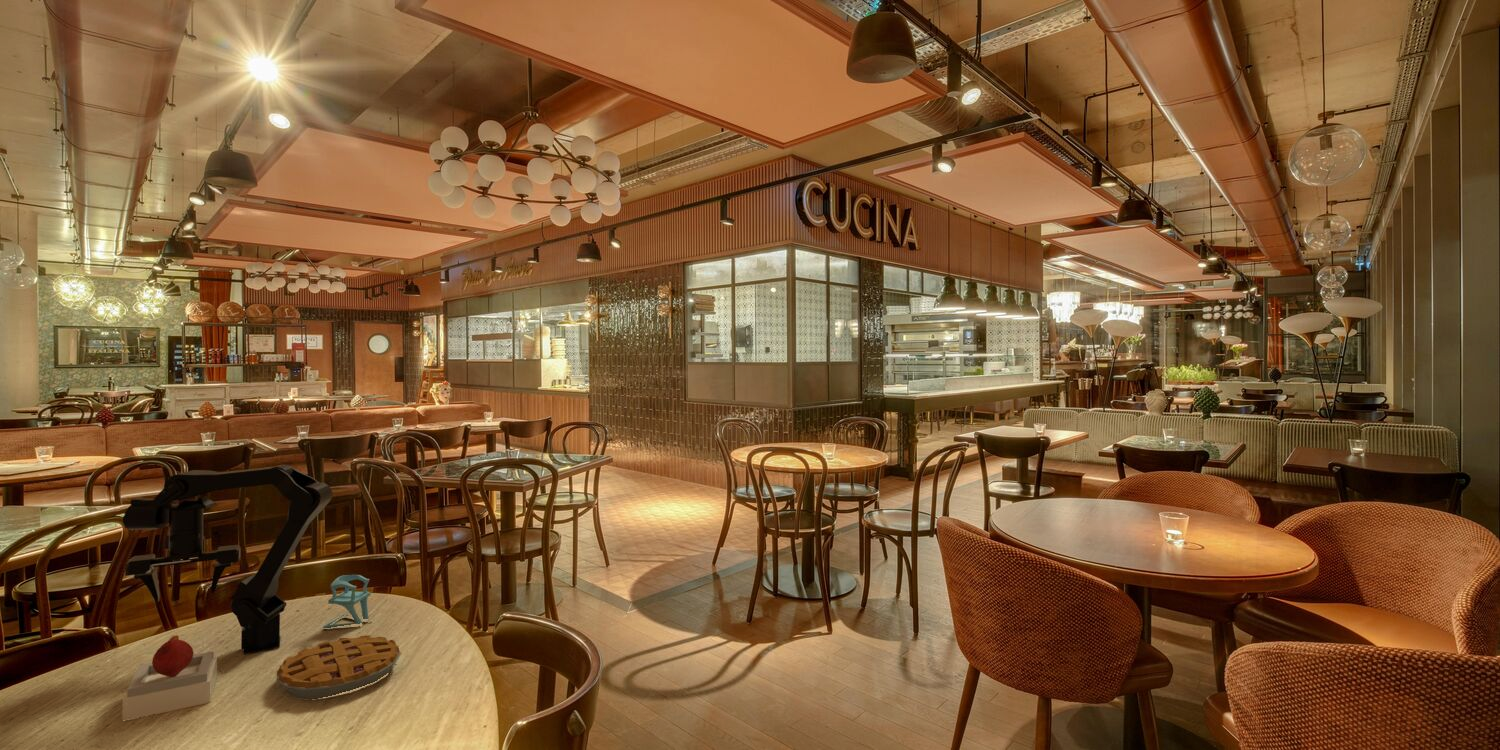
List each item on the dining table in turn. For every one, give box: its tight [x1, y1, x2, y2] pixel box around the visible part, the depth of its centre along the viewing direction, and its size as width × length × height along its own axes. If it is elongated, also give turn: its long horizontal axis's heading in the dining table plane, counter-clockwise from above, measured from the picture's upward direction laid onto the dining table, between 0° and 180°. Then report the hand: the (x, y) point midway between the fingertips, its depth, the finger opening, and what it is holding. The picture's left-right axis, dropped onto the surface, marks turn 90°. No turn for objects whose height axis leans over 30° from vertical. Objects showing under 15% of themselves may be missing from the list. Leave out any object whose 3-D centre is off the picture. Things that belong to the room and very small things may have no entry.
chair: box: [322, 574, 371, 629], centre depth 157 cm, size 8×8×12 cm
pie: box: [276, 634, 402, 701], centre depth 132 cm, size 22×22×5 cm
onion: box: [151, 634, 194, 677], centre depth 122 cm, size 6×6×8 cm
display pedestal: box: [122, 651, 218, 721], centre depth 122 cm, size 12×12×6 cm
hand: (185, 597), depth 141 cm, fingers open, 9 cm apart
